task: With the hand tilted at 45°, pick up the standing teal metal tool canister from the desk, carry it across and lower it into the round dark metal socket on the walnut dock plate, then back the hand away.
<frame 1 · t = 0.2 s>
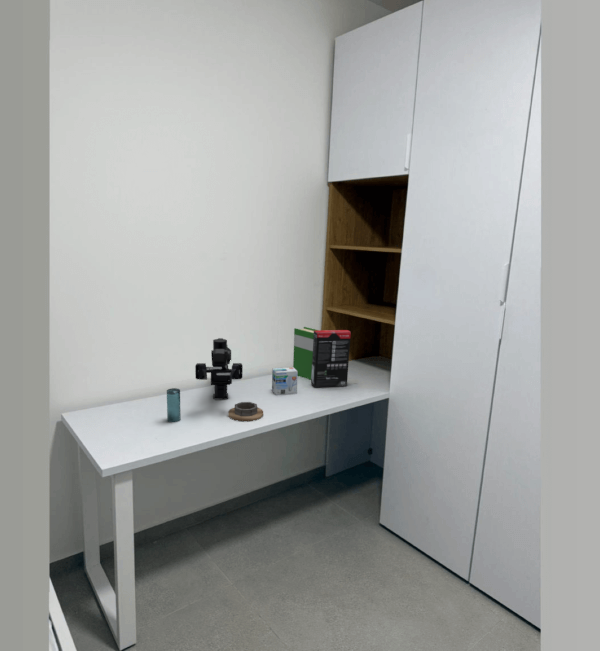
hand: (218, 378, 194), 17 cm above the table, tool horizontal, fingers open, 9 cm apart
tool canister: (173, 419, 195), on the table
hardback book: (309, 376, 256), on the table
graphics card box: (329, 385, 243), on the table
socket dock: (245, 414, 202), on the table
light bulb box: (284, 392, 231), on the table
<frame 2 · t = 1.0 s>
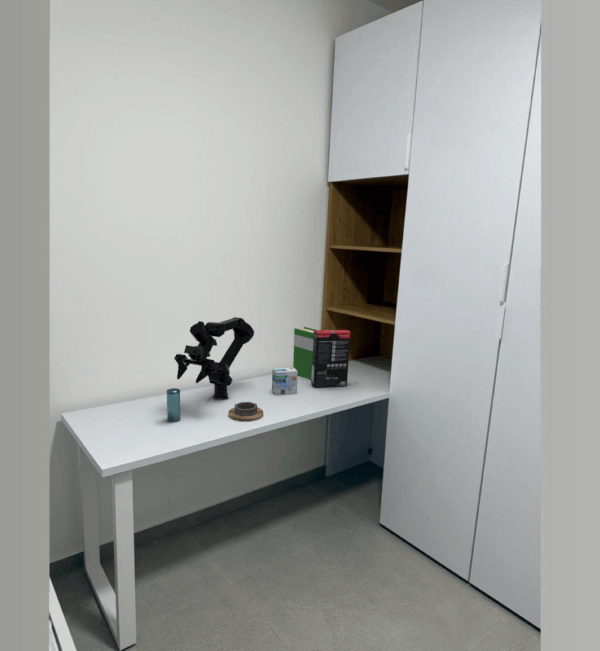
hand: (186, 380, 199), 14 cm above the table, tool tilted 45°, fingers open, 9 cm apart
nothing on the table moved.
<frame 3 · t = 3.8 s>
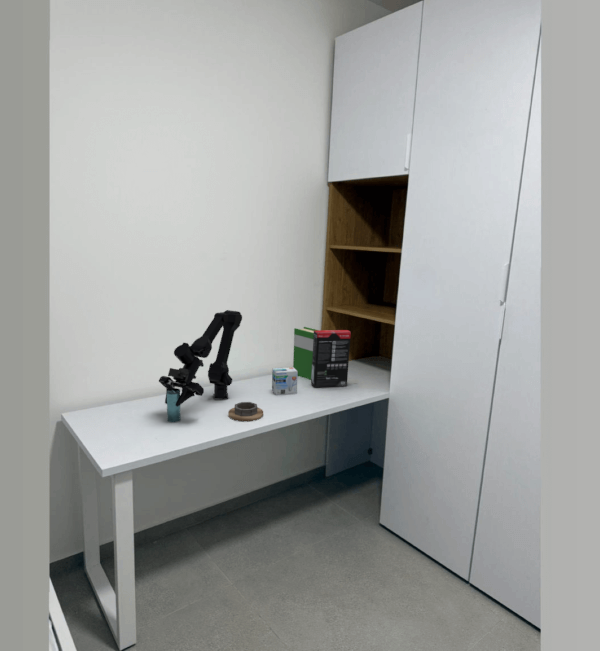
hand: (171, 404, 193), 7 cm above the table, tool tilted 45°, fingers closed on tool canister, 5 cm apart
tool canister: (173, 419, 195), on the table, touching gripper
everything else where it was.
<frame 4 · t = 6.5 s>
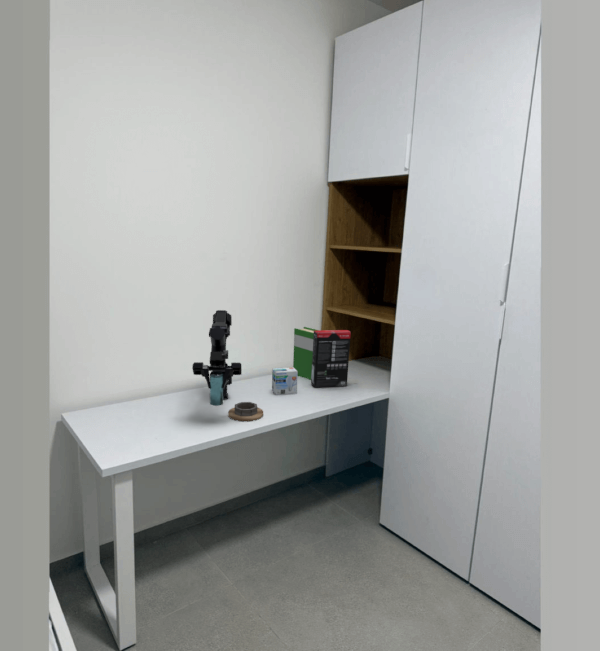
hand: (216, 388, 192), 14 cm above the table, tool tilted 45°, fingers closed on tool canister, 5 cm apart
tool canister: (216, 403, 194), point 7 cm above the table, touching gripper
everything else where it was.
when the fingers open (9 cm above the table, at t = 9.0 s): tool canister drops 1 cm, resting on socket dock.
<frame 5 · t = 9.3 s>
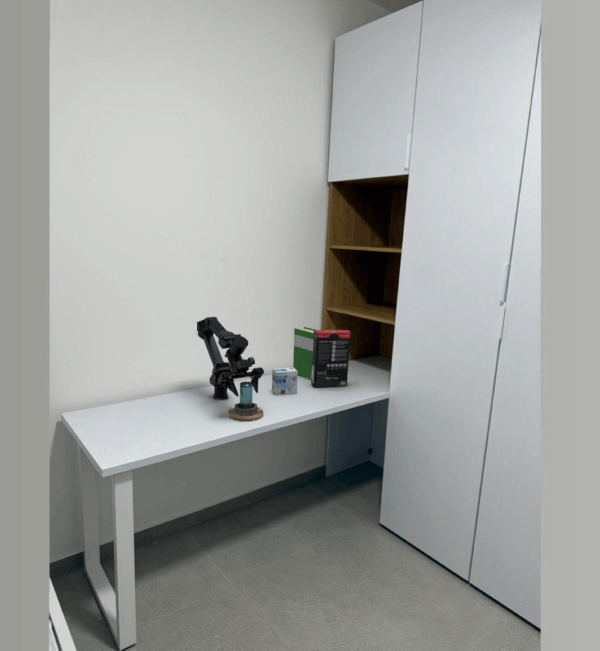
hand: (247, 394, 199), 9 cm above the table, tool tilted 45°, fingers open, 8 cm apart
tool canister: (245, 411, 202), point 1 cm above the table, touching socket dock
everything else where it was.
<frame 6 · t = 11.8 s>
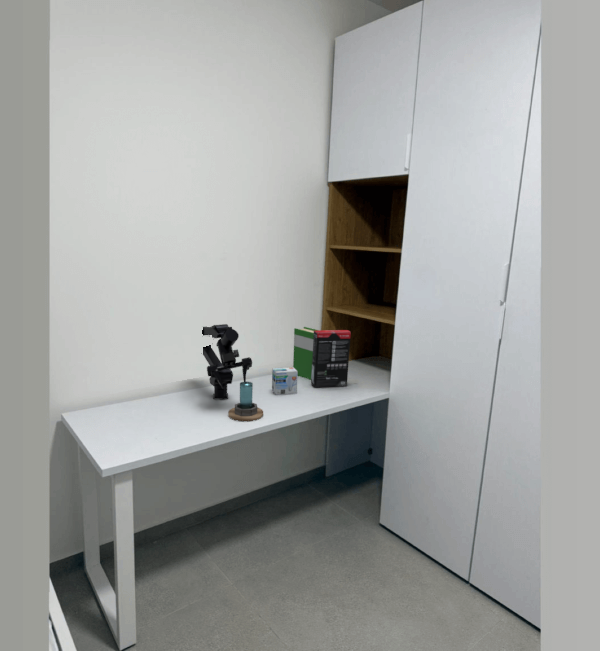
hand: (234, 385, 207), 10 cm above the table, tool tilted 40°, fingers open, 9 cm apart
nothing on the table moved.
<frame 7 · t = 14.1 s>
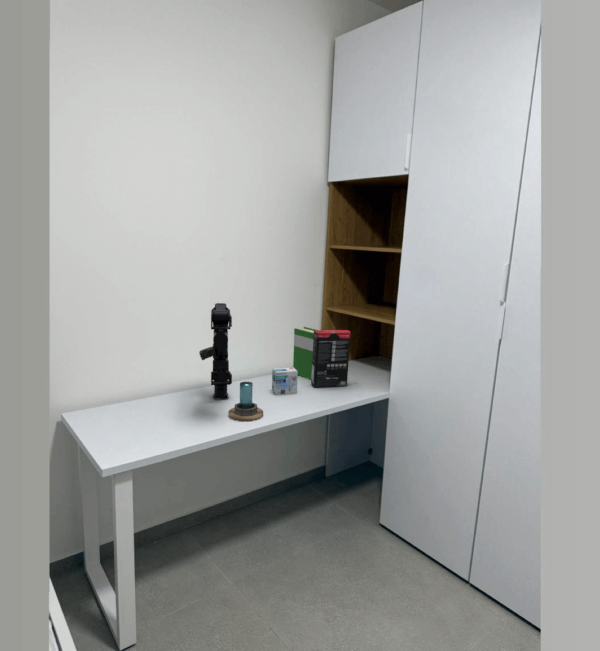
hand: (220, 378, 206), 13 cm above the table, tool pointing down, fingers open, 9 cm apart
nothing on the table moved.
at the end: tool canister 0.0 cm off-centre on the socket dock, point 1.2 cm above the socket dock's base; tool canister tilted 0°; the gripper is holding nothing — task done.
